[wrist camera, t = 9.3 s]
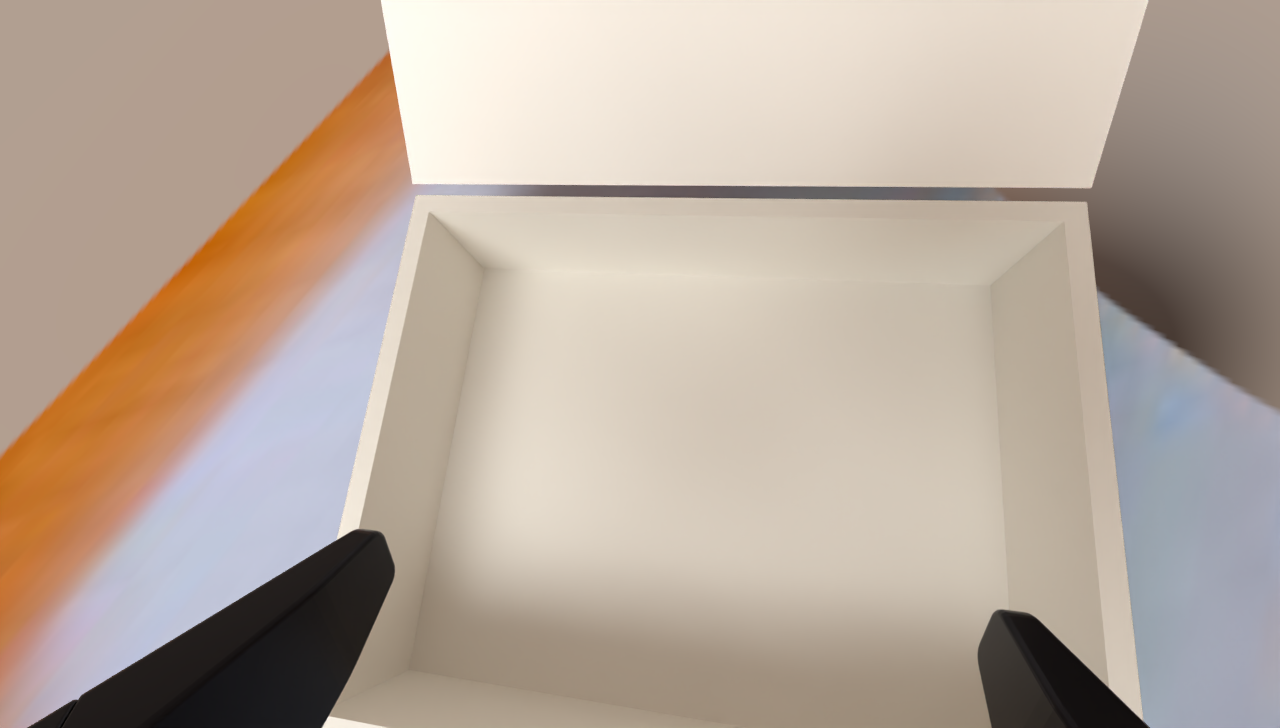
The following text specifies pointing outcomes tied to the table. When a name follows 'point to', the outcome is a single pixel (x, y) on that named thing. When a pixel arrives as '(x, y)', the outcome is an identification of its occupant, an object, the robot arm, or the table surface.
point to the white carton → (733, 463)
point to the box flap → (760, 91)
